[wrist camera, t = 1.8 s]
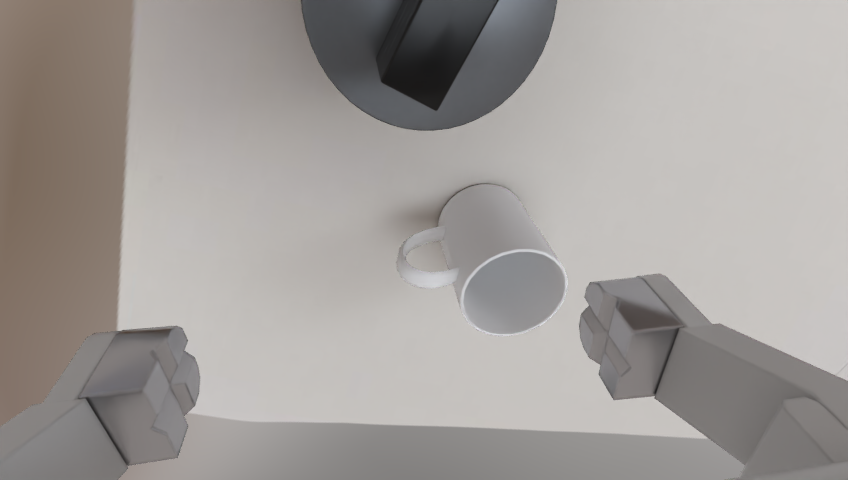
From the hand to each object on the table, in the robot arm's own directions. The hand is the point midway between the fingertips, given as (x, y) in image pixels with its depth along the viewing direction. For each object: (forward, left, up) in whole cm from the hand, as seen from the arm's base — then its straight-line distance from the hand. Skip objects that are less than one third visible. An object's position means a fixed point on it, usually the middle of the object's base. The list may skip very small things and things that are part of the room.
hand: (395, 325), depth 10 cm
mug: (+13, -9, -29) cm, 33 cm away
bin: (0, +5, -27) cm, 27 cm away
